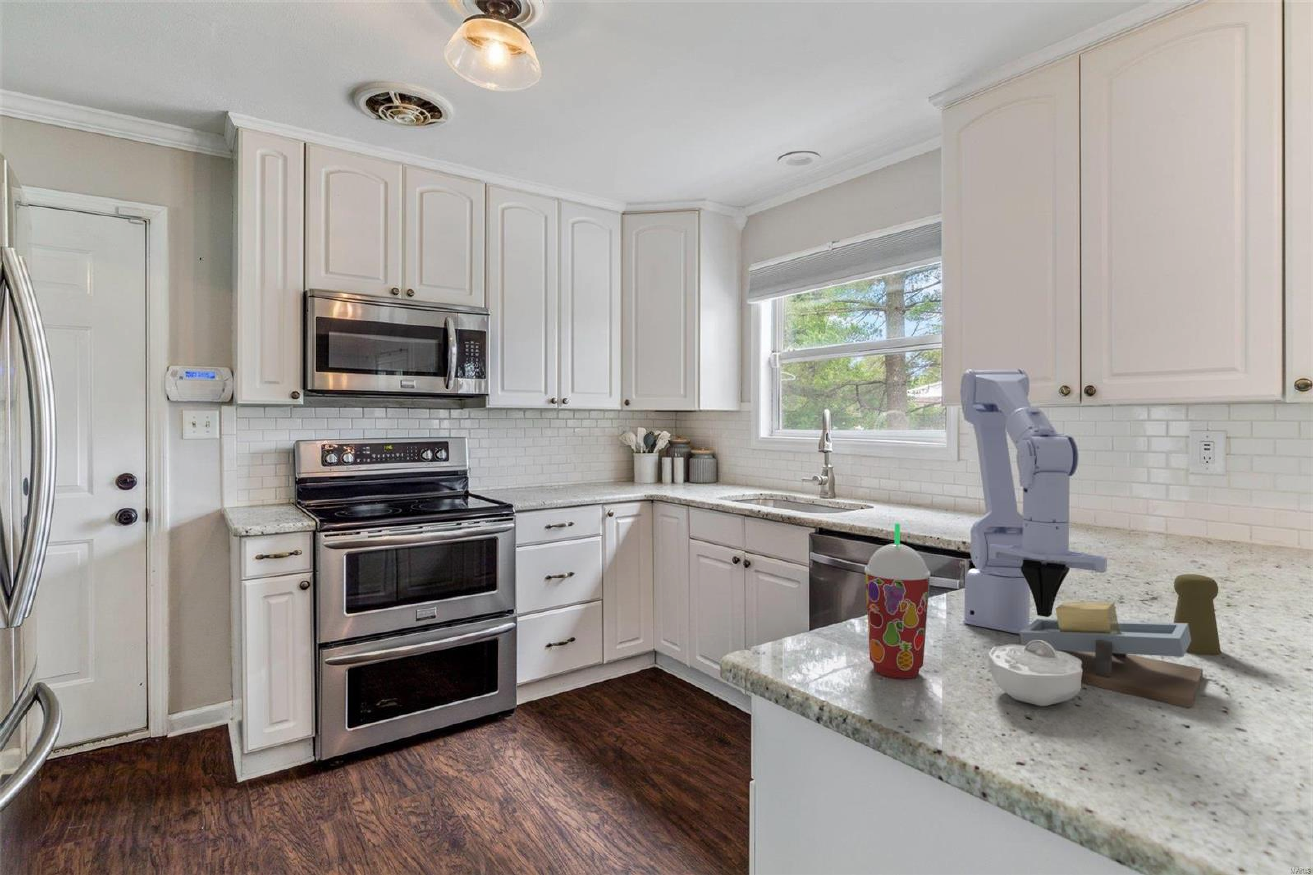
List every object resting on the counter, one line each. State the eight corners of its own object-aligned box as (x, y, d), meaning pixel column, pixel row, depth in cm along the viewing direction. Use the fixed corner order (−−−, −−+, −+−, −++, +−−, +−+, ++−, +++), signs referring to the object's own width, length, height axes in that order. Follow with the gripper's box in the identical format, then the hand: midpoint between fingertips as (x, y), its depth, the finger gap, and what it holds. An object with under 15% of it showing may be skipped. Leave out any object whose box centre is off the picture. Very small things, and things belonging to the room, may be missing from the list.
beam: (1021, 648, 93) (1018, 632, 93) (1040, 633, 99) (1037, 618, 100) (1183, 657, 80) (1179, 639, 80) (1191, 639, 87) (1188, 622, 87)
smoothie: (927, 664, 92) (928, 521, 92) (931, 686, 84) (933, 530, 84) (864, 657, 95) (865, 518, 94) (862, 678, 87) (864, 526, 87)
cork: (1231, 656, 96) (1232, 580, 96) (1183, 653, 97) (1184, 578, 97) (1205, 643, 102) (1206, 571, 102) (1161, 640, 103) (1162, 570, 103)
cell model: (968, 697, 81) (969, 642, 81) (1014, 676, 88) (1014, 625, 88) (1058, 728, 73) (1059, 666, 73) (1100, 701, 80) (1101, 645, 80)
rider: (1060, 637, 91) (1055, 608, 92) (1069, 630, 95) (1064, 601, 95) (1112, 640, 87) (1106, 609, 87) (1119, 631, 91) (1114, 602, 91)
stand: (1006, 665, 92) (1006, 626, 92) (1034, 642, 102) (1035, 607, 102) (1190, 708, 78) (1191, 662, 78) (1202, 676, 88) (1203, 636, 88)
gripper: (982, 517, 97) (981, 610, 97) (1099, 528, 87) (1098, 631, 87) (997, 513, 102) (996, 601, 102) (1110, 523, 92) (1109, 620, 92)
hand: (1044, 615), depth 95 cm, fingers closed
